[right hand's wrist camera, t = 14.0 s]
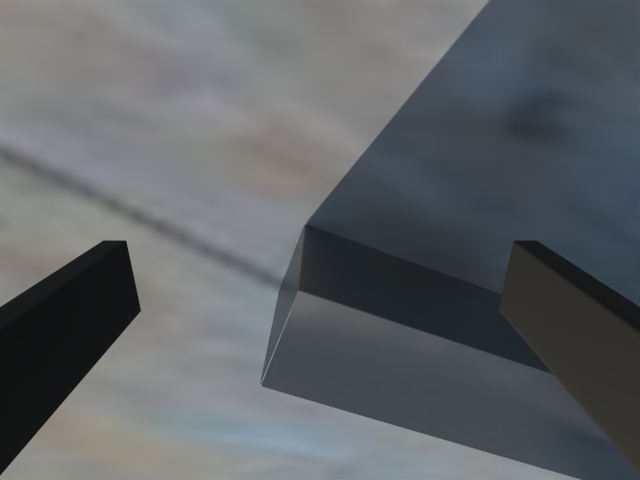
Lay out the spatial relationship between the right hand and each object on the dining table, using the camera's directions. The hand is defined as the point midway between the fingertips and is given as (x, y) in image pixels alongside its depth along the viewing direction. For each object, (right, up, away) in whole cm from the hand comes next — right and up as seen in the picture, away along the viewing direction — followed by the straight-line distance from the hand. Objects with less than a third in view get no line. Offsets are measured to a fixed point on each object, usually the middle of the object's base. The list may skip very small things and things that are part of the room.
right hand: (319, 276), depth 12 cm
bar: (+15, -6, +14) cm, 21 cm away
